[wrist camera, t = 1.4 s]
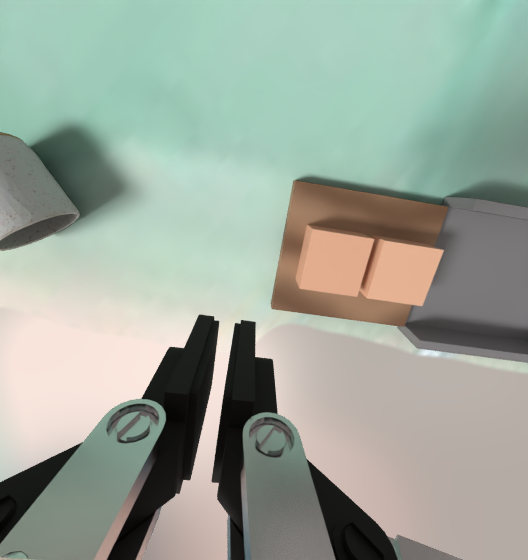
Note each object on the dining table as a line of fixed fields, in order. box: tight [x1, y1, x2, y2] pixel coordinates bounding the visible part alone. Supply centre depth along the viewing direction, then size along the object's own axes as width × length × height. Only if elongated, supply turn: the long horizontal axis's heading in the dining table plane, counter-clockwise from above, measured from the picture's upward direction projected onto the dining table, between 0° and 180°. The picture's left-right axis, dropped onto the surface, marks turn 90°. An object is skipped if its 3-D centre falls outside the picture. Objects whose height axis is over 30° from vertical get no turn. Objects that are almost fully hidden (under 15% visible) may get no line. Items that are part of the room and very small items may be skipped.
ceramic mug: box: [0, 132, 80, 251], centre depth 25 cm, size 11×8×8 cm
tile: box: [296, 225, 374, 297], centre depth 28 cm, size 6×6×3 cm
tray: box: [397, 197, 528, 363], centre depth 30 cm, size 16×18×4 cm
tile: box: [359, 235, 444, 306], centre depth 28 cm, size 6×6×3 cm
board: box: [271, 180, 449, 327], centre depth 30 cm, size 14×16×2 cm
